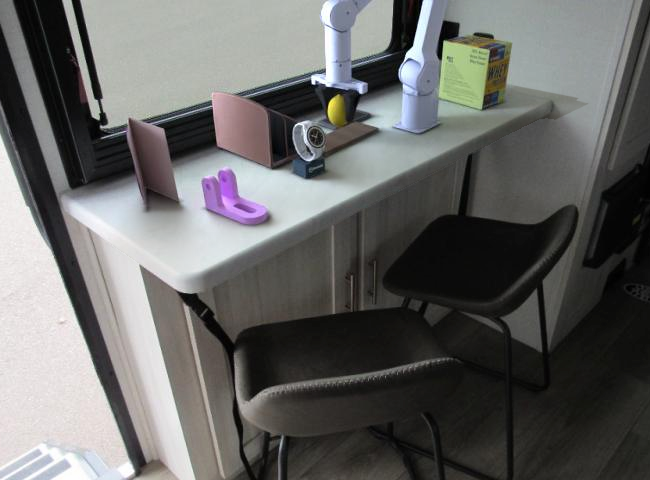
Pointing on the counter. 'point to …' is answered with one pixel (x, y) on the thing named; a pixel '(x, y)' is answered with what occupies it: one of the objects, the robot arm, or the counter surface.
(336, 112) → the lemon
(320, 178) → the counter surface
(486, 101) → the protein box
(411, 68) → the robot arm
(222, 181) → the bracket
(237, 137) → the letter holder
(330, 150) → the back board
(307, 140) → the watch
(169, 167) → the greeting card
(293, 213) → the counter surface
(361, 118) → the cell phone
